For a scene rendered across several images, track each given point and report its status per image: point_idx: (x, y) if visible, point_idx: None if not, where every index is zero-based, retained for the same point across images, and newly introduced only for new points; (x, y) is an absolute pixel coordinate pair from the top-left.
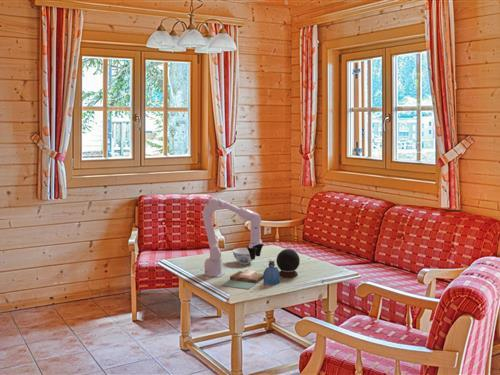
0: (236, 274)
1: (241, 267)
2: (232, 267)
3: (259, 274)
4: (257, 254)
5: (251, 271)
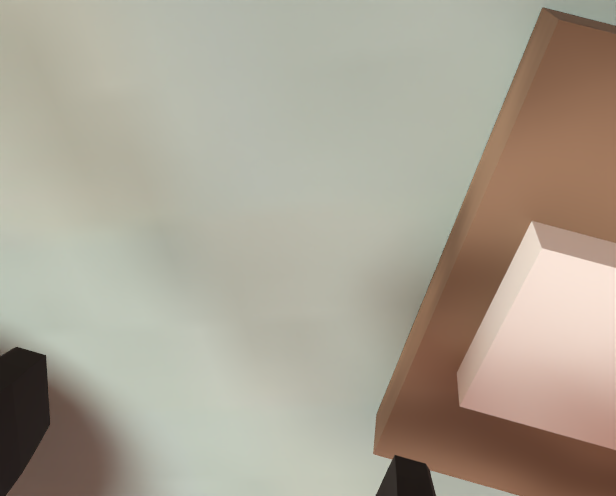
0: (568, 478)
1: (63, 399)
2: (105, 476)
3: (582, 144)
4: (15, 438)
5: (557, 322)
